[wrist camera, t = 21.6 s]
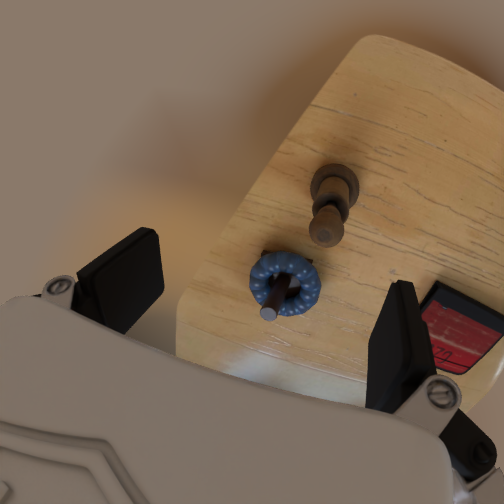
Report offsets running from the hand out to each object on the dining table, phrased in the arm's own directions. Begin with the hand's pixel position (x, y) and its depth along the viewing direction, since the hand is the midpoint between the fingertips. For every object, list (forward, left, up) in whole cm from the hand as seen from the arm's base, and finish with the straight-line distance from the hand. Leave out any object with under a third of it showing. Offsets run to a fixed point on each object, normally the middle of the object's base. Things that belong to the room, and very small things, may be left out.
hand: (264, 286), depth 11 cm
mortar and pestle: (+3, +2, -31) cm, 31 cm away
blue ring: (+19, -3, -28) cm, 34 cm away
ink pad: (+24, +29, -31) cm, 49 cm away
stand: (+19, -4, -31) cm, 36 cm away
